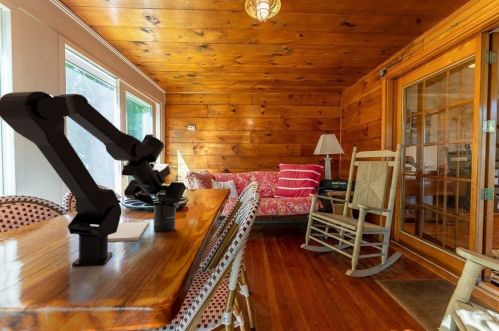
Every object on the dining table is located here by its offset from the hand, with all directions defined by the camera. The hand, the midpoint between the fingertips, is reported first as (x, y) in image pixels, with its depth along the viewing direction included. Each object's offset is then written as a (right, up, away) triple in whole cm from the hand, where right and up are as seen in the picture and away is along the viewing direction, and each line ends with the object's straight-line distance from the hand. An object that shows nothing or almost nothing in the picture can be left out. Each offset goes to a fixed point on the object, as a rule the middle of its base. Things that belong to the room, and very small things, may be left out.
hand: (165, 206), depth 88 cm
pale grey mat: (-12, -7, -5) cm, 15 cm away
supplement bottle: (0, -8, 0) cm, 8 cm away
